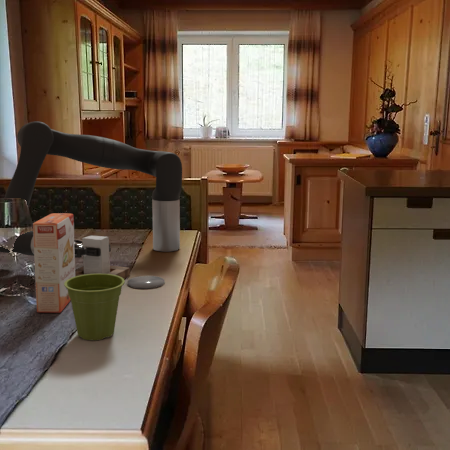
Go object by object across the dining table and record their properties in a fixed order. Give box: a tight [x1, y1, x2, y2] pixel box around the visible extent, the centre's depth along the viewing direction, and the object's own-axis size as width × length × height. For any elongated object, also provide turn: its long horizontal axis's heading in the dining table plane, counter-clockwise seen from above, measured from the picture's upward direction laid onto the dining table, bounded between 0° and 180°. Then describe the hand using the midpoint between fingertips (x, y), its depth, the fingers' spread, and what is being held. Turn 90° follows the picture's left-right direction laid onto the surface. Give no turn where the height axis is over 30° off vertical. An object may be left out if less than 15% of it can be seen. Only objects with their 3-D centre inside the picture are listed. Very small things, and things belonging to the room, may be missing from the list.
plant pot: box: [64, 274, 126, 341], centre depth 107 cm, size 12×12×11 cm
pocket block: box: [75, 265, 131, 280], centre depth 145 cm, size 13×13×2 cm
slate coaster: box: [126, 275, 166, 290], centre depth 142 cm, size 10×10×1 cm
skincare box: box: [81, 235, 111, 274], centre depth 144 cm, size 6×4×12 cm
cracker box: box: [32, 212, 76, 314], centre depth 124 cm, size 14×6×21 cm, turn 2°
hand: (104, 250), depth 142 cm, fingers closed on skincare box, 4 cm apart
